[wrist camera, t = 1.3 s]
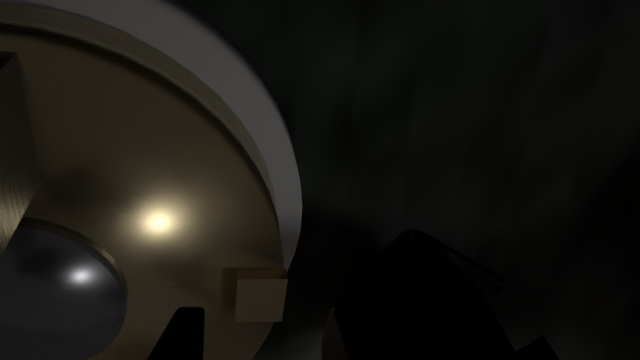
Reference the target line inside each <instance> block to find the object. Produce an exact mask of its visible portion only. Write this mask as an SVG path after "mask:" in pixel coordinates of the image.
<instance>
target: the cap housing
mask: <svg viewBox="0 0 640 360" xmlns="http://www.w3.org/2000/svg"><path fill="white" fill-rule="evenodd" d="M0 3H10V4H18V5H25V6H31V7H38V8H45V9H51V10H56V11H60V12H63V13H67V14H71V15H75V16H78V17H82V18H86V19H89V20H93V21H96V22H98V23H101V24H104V25H106V26H109V27H111V28H114V29H116V30H119V31H121V32H124V33H126V34H129V35H131V36H133V37H135V38H137V39H139V40H141V41H143V42H145V43H146V44H148V45H150V46H152V47H154V48H156V49H158V50H160V51H162V52H163V53H165V54H167V55H168V56H170V57H171V58H173V59H174V60H175V61H177V62H178V63H180V64H181V65H183V66H184V67H186V68H187V69H189V70H190V71H191V72H193V73H194V74H195V75H197V76H198V77H199V78H200V79H201V80H202V81H203V82H205V83H206V84H207V85H208V86H209V87H210V88H211V89H213V90H214V91H215V92H216V93H217V94H218V95H219V96H220V97H221V98H222V99H223V100H224V101H225V102H226V104H227V105H228V106H229V107H230V108H231V109H232V110H233V112H234V113H235V114H236V115H237V116H238V117H239V118H240V120H241V121H242V123H243V124H244V126H245V127H246V129H247V130H248V132H249V133H250V135H251V136H252V138H253V139H254V141H255V142H256V144H257V146H258V148H259V150H260V152H261V155H262V157H263V159H264V161H265V163H266V165H267V168H268V171H269V174H270V178H271V181H272V184H273V188H274V193H275V200H276V208H277V215H278V223H279V230H280V238H281V245H282V253H283V260H284V268H286V270H287V271H288V269H289V266H290V264H291V261H292V259H293V256H294V254H295V251H296V247H297V243H298V239H299V234H300V230H301V218H302V196H301V185H300V178H299V173H298V168H297V164H296V159H295V154H294V150H293V146H292V142H291V138H290V134H289V131H288V127H287V125H286V122H285V120H284V118H283V115H282V113H281V110H280V108H279V106H278V103H277V101H276V100H275V98H274V96H273V95H272V93H271V91H270V90H269V88H268V86H267V85H266V83H265V81H264V80H263V78H262V76H261V75H260V74H259V72H258V71H257V70H256V69H255V67H254V66H253V65H252V64H251V62H250V61H249V60H248V59H247V57H246V56H245V55H244V54H243V52H242V51H241V50H240V49H239V48H238V47H237V46H236V45H235V44H234V43H233V42H232V41H230V40H229V39H228V38H227V37H226V36H225V35H224V34H223V33H222V32H221V31H220V30H219V29H218V28H217V27H216V26H215V25H213V24H212V23H211V22H209V21H208V20H207V19H205V18H204V17H203V16H201V15H200V14H199V13H197V12H196V11H195V10H193V9H192V8H191V7H189V6H188V5H187V4H185V3H183V2H182V1H180V0H0Z"/></svg>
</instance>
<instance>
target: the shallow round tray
mask: <svg viewBox="0 0 640 360" xmlns="http://www.w3.org/2000/svg"><path fill="white" fill-rule="evenodd" d="M287 281H288V277H287V270H286V268H284V260H283V253H282V245H281V238H280V230H279V223H278V215H277V208H276V200H275V193H274V188H273V184H272V181H271V178H270V174H269V171H268V168H267V165H266V163H265V161H264V159H263V157H262V155H261V152H260V150H259V148H258V146H257V144H256V142H255V141H254V139H253V138H252V136H251V135H250V133H249V132H248V130H247V129H246V127H245V126H244V124H243V123H242V121H241V120H240V118H239V117H238V116H237V115H236V114H235V113H234V112H233V110H232V109H231V108H230V107H229V106H228V105H227V104H226V102H225V101H224V100H223V99H222V98H221V97H220V96H219V95H218V94H217V93H216V92H215V91H214V90H213V89H211V88H210V87H209V86H208V85H207V84H206V83H205V82H203V81H202V80H201V79H200V78H199V77H198V76H197V75H195V74H194V73H193V72H191V71H190V70H189V69H187V68H186V67H184V66H183V65H181V64H180V63H178V62H177V61H175V60H174V59H173V58H171V57H170V56H168V55H167V54H165V53H163V52H162V51H160V50H158V49H156V48H154V47H152V46H150V45H148V44H146V43H145V42H143V41H141V40H139V39H137V38H135V37H133V36H131V35H129V34H126V33H124V32H121V31H119V30H116V29H114V28H111V27H109V26H106V25H104V24H101V23H98V22H96V21H93V20H89V19H86V18H82V17H78V16H75V15H71V14H67V13H63V12H60V11H56V10H51V9H45V8H38V7H31V6H25V5H18V4H10V3H0V360H146V359H147V357H148V356H149V354H150V352H151V351H152V349H153V347H154V346H155V344H156V342H157V341H158V339H159V337H160V336H161V334H162V332H163V331H164V329H165V327H166V326H167V324H168V322H169V321H170V319H171V318H172V316H173V314H174V313H175V311H176V310H177V309H178V308H179V307H180V306H201V307H203V308H204V309H205V322H204V349H203V360H250V359H251V358H252V357H253V356H254V354H255V353H256V352H257V351H258V350H259V348H260V347H261V345H262V343H263V342H264V340H265V339H266V337H267V335H268V334H269V332H270V330H271V328H272V325H273V323H274V322H282V316H283V309H284V302H285V295H286V288H287Z"/></svg>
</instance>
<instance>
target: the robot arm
mask: <svg viewBox="0 0 640 360" xmlns="http://www.w3.org/2000/svg"><path fill="white" fill-rule="evenodd" d="M421 244H424V245H423V246H420V245H421ZM506 288H507V285H506V283H505V282H504V280H503V279H502V278H501V277H500V276H498V275H496V274H494V273H493V272H491V271H489V270H487V269H486V268H484V267H482V266H481V265H479V264H477V263H475V262H474V261H472V260H470V259H468V258H467V257H465V256H463V255H462V254H460V253H458V252H456V251H455V250H453V249H451V248H449V247H448V246H446V245H444V244H442V243H441V242H439V241H437V240H436V239H434V238H432V237H430V236H429V235H426V234H420V235H417V236H415V237H414V238H413V239H412V240H411V241H410V242H409V243H408V244H407V245H406V246H405V247H404V248H403V249H402V250H401V251H400V252H399V253H398V254H397V255H396V256H395V257H394V258H393V259H391V260H390V261H389V262H388V263H387V264H386V265H385V266H384V267H383V268H382V269H381V270H380V271H379V272H378V273H377V274H376V275H375V276H374V277H373V278H372V279H371V280H370V281H369V282H368V283H367V284H366V285H365V286H364V287H363V288H362V289H361V290H360V291H359V292H358V293H357V294H356V295H355V296H354V297H353V298H352V299H351V300H350V301H349V302H348V303H347V304H346V305H345V306H344V307H334V308H332V309H331V310H330V312H329V315H328V319H327V323H326V327H325V331H324V335H323V339H322V360H559V359H558V357H557V356H556V354H555V353H554V351H553V350H552V348H551V347H550V345H549V343H548V342H547V340H546V339H545V337H544V336H541V337H539V338H537V339H535V340H533V341H531V342H532V344H530V345H528V346H526V347H524V348H522V349H519V350H517V351H515V350H514V349H513V347H512V345H511V343H510V341H509V340H508V338H507V336H506V334H505V332H504V331H503V329H502V327H501V325H500V323H499V322H498V320H497V318H496V316H495V314H494V313H493V311H492V309H491V307H490V305H489V304H491V303H492V302H493V301H494V300H495V299H496V298H498V297H499V296H500V295H501V294H502V293H504V291H505V290H506ZM204 322H205V309H204V308H203V307H201V306H180V307H179V308H178V309H177V310H176V311H175V313H174V314H173V316H172V318H171V319H170V321H169V322H168V324H167V326H166V327H165V329H164V331H163V332H162V334H161V336H160V337H159V339H158V341H157V342H156V344H155V346H154V347H153V349H152V351H151V352H150V354H149V356H148V357H147V359H146V360H203V349H204Z"/></svg>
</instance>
